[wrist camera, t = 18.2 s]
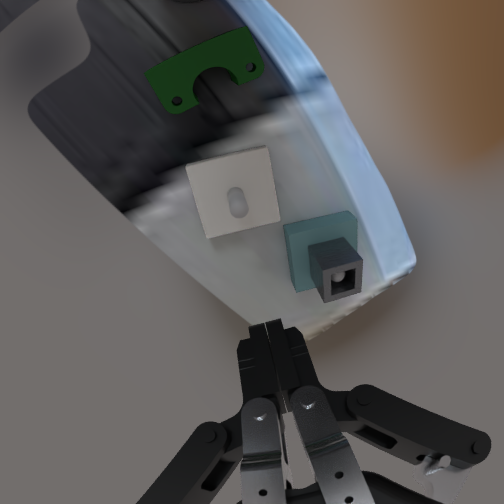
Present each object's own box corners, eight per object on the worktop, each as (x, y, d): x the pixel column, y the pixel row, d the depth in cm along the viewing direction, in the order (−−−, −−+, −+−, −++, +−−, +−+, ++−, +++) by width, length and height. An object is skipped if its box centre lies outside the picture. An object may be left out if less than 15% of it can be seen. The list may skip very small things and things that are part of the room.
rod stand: (186, 164, 32) (181, 178, 27) (265, 145, 32) (277, 155, 27) (206, 233, 37) (206, 259, 32) (278, 216, 38) (290, 238, 32)
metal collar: (307, 245, 37) (322, 270, 32) (343, 236, 37) (362, 259, 32) (310, 276, 40) (324, 303, 35) (344, 267, 40) (361, 292, 35)
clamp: (185, 95, 31) (157, 124, 26) (165, 59, 27) (131, 80, 22) (271, 64, 27) (263, 85, 22) (253, 23, 23) (238, 29, 17)
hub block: (283, 225, 38) (299, 255, 32) (348, 210, 39) (375, 236, 32) (291, 280, 44) (306, 315, 37) (348, 265, 44) (370, 296, 37)
